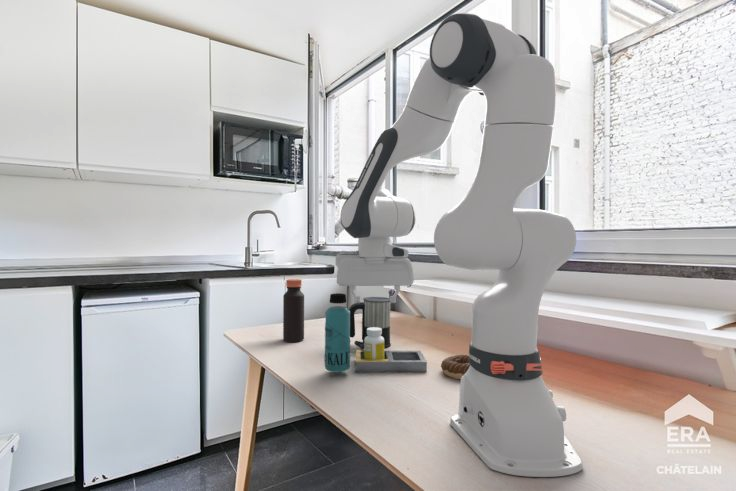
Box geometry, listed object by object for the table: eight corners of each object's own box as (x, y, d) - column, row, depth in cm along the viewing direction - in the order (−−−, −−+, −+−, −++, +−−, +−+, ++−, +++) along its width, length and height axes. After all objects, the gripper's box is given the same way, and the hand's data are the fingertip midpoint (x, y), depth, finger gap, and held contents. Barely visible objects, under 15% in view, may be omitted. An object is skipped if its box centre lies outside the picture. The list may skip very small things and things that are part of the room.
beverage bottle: (335, 367, 99) (336, 291, 98) (356, 372, 95) (356, 293, 95) (318, 374, 93) (318, 293, 93) (339, 380, 90) (339, 296, 89)
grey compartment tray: (426, 371, 96) (426, 360, 96) (355, 372, 95) (355, 360, 95) (420, 359, 106) (420, 349, 106) (356, 359, 105) (356, 349, 105)
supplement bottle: (384, 362, 103) (385, 326, 103) (383, 369, 98) (384, 331, 97) (365, 361, 104) (365, 326, 103) (362, 368, 98) (363, 330, 98)
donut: (491, 382, 89) (491, 365, 89) (447, 383, 89) (447, 366, 89) (476, 367, 100) (476, 352, 100) (436, 367, 100) (436, 352, 99)
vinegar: (296, 336, 130) (297, 278, 130) (308, 340, 125) (308, 280, 125) (279, 339, 126) (279, 279, 126) (290, 344, 121) (290, 281, 121)
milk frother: (384, 340, 126) (384, 295, 126) (405, 353, 112) (405, 303, 112) (343, 343, 122) (343, 297, 121) (359, 358, 107) (359, 305, 107)
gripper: (334, 250, 97) (334, 304, 97) (414, 250, 97) (414, 304, 97) (336, 250, 103) (336, 301, 103) (411, 250, 104) (411, 301, 103)
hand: (375, 303), depth 100 cm, fingers open, 8 cm apart
